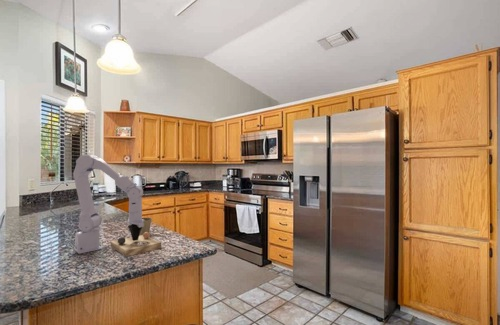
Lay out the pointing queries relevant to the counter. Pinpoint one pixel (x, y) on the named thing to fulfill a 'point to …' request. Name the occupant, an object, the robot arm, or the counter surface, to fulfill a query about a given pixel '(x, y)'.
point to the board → (135, 245)
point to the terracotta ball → (146, 235)
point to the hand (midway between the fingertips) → (135, 240)
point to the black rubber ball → (121, 240)
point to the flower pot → (146, 226)
